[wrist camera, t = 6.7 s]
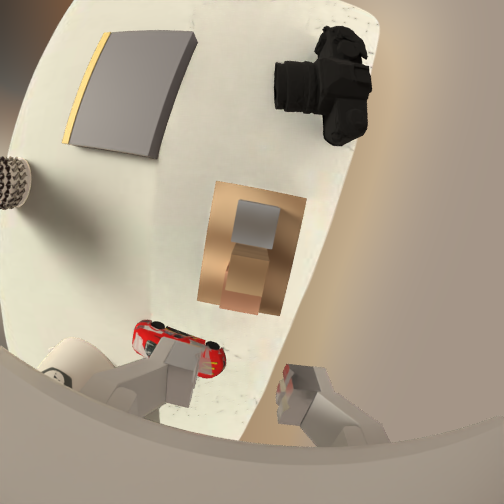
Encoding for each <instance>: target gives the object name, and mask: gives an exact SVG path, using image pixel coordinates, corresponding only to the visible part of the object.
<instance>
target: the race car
mask: <svg viewBox="0 0 504 504" xmlns="http://www.w3.org/2000/svg"><path fill="white" fill-rule="evenodd" d="M162 337H167V338H171V339H174V340H178V341H181V342H185V343H188V344H192V345H196V346H200V347H202V352H201V358H200V361H199V370H198V375H197V376H199V377H202V378H213V377H215V376H217V375H218V374H220V373H221V372H222V371H223V370H224V368H225V366H226V355H225V353H224V350H223V349H222V347H221V349H219V348H220V346H219V345H218V344H217V343H215V342H212V341H209V342H207V343H206V345H205V341H206V340H203V339H200V338H197V337H195V336H192V335H189V334H186V333H184V332H181V331H178V330H176V329H173V328H171V327H168V326H166V328H165V325H164V324H163V323H161V322H158V321H155V322H152V321H151V320H142V321H140V322H139V323H138V324H137V325H136V327H135V329H134V334H133V341H132V347H133V349H134V350H135V351H136V352H137V353H138V354H140V355H142V356H143V357H145V358H148V359H149V358H150V356H151V354H152V353H153V351H154V349H155V348H156V346H157V344H158V343H159V341H160V339H161V338H162Z"/></svg>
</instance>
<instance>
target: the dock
mask: <svg viewBox="0 0 504 504" xmlns="http://www.w3.org/2000/svg"><path fill="white" fill-rule="evenodd" d="M197 43H198V42H197V39H196V37H195V34H194V32H192V31H170V30H146V31H125V32H112V33H111V32H107V33H104V34H103V36H102V38H101V39H100V41H99V43H98V45H97V47H96V49H95V52H94V54H93V56H92V58H91V60H90V62H89V65H88V67H87V69H86V72H85V74H84V76H83V79H82V81H81V84H80V86H79V89H78V92H77V94H76V97H75V100H74V103H73V106H72V109H71V112H70V115H69V118H68V122H67V125H66V128H65V132H64V136H63V139H62V143H63V144H69V145H74V146H81V147H89V148H96V149H103V150H109V151H115V152H121V153H127V154H133V155H139V156H144V157H149V158H155V159H157V157H158V153H159V150H160V146H161V143H162V139H163V136H164V133H165V129H166V126H167V123H168V120H169V117H170V114H171V111H172V108H173V105H174V102H175V99H176V96H177V93H178V91H179V88H180V85H181V82H182V80H183V77H184V75H185V72H186V70H187V67H188V65H189V62H190V60H191V57H192V55H193V53H194V50H195V48H196V46H197Z"/></svg>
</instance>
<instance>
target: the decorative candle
mask: <svg viewBox="0 0 504 504" xmlns="http://www.w3.org/2000/svg"><path fill="white" fill-rule="evenodd" d="M31 178H32V176H31V169H30V166H29V164H28V162H27V160H25V159H23V158H18V157H16V158H15V159H13V157H11V156H10V157H9V158H8V159H7V157H5V158H4V157H1V158H0V209H3V210H6V209H8V208H9V209H13V208H14V207H20V206H21V205H23V204H24V203H25V201H26V199H27V198H28V196H29V192H30V188H31Z"/></svg>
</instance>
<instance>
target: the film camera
mask: <svg viewBox="0 0 504 504" xmlns="http://www.w3.org/2000/svg"><path fill="white" fill-rule="evenodd" d="M322 30H323V33H322V34H321V35H320V38H319V41H318V43H317V45H316V48H315V51H314V52H315V53H316V54H317V55H318V59H317V60H316V61H315V62H314V63H312V62H308V61H304V62H296V61H285V62H284V64H281V63H277V62H276V63H275V72H274V103H275V109H280V110H282V109H284V111H285V112H303V113H304V114H310V113H313V114H318V115H322V117H323V136H324V139H325V140H326V141H327V142H328V143H329V144H331V145H333V146H343V145H344V144H346V143H349V142H350V141H352V140H354V139H356V138H358V137H360V136H363V135H364V133H365V132H366V130H367V126H368V119H367V99H368V96H369V93H370V92H371V91H372V83H371V75H370V73H369V66H365V65H363V64H362V58H361V57H363V58H364V59H366V60H367V57H368V56H367V51H366V48H365V44H364V42H363V40H362V39H361V38H360V37H358V36H357V35H356V34H355V33H354V31H353V30H351V29H349V28H347V27H344V26H335V27H331V28H330V27H329V26H325V27H324V28H323V29H322Z"/></svg>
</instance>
